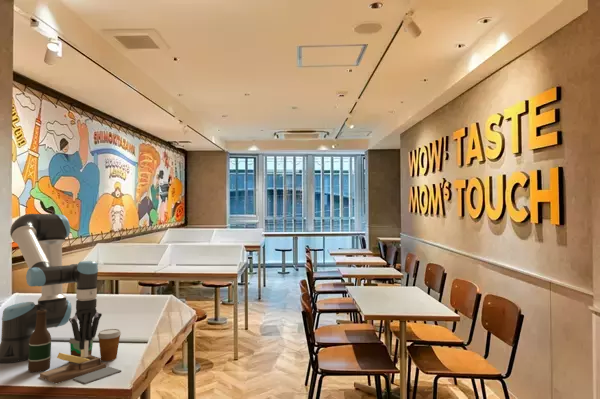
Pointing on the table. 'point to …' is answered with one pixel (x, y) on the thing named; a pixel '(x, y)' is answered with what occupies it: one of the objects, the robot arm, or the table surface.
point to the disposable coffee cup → (109, 343)
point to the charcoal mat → (96, 375)
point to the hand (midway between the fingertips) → (84, 356)
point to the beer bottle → (39, 345)
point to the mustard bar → (71, 358)
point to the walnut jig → (73, 370)
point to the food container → (75, 347)
